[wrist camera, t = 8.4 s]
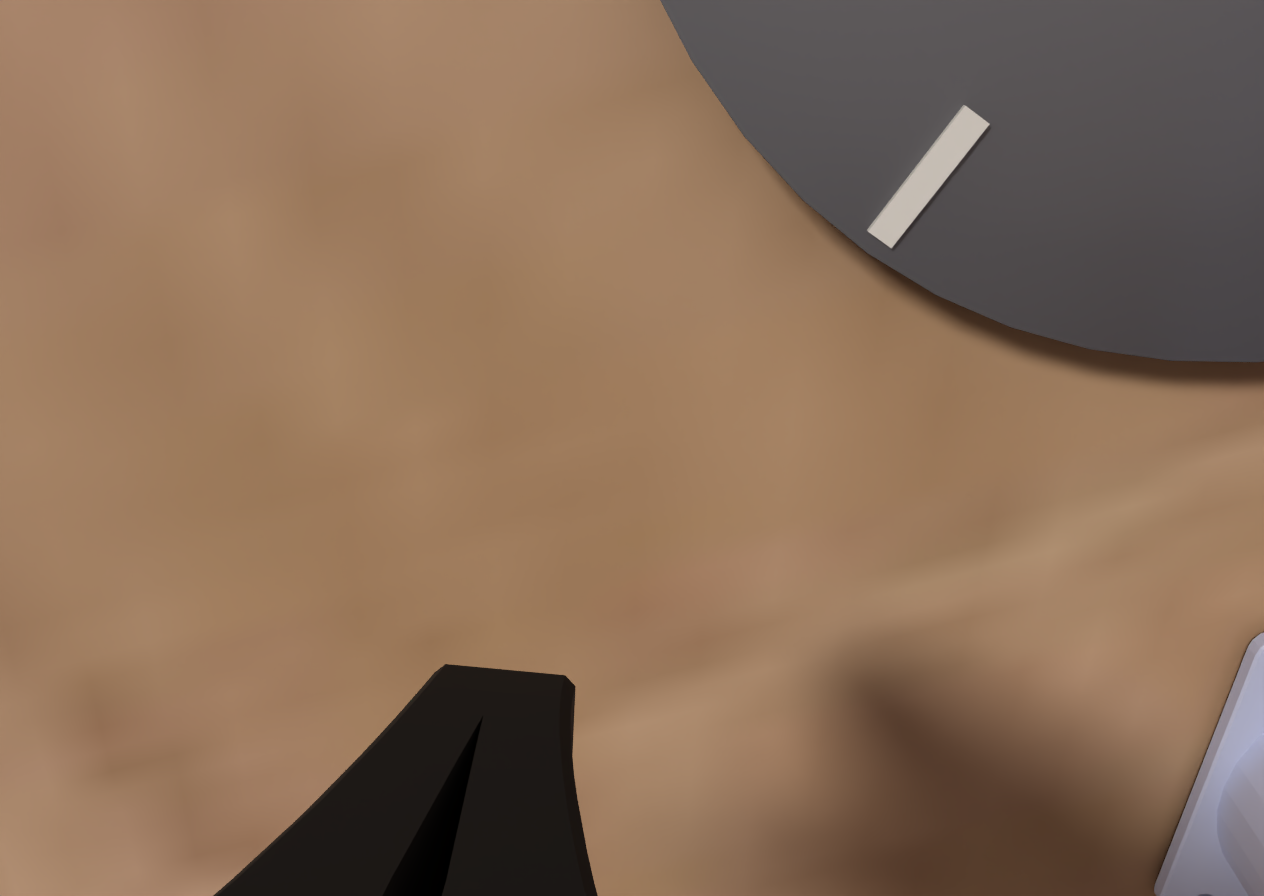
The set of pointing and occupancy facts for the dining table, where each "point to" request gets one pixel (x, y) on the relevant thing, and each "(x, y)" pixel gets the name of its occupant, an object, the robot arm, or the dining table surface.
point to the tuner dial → (1022, 152)
